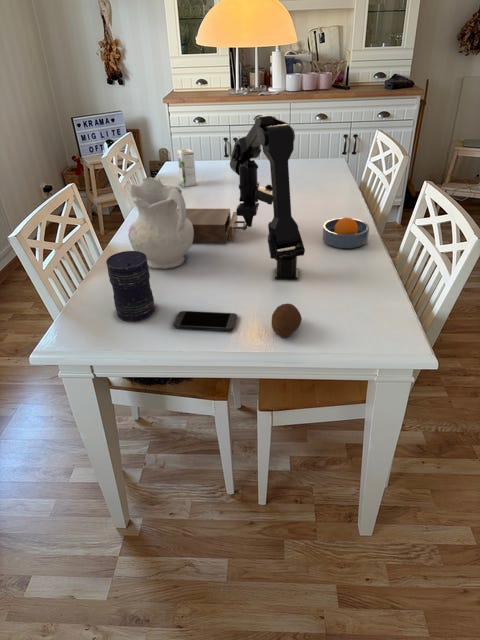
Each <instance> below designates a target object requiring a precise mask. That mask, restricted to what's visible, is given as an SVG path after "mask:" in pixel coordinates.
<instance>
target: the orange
mask: <svg viewBox="0 0 480 640" xmlns="http://www.w3.org/2000/svg"><path fill="white" fill-rule="evenodd" d="M341 218H342V219H340V220H339V221H338V222H337V223H336V225H335V228H334V231H335V233H337V234H343V235H352V234H357V233H358V225H357V223H356V222H355V220H353V219H354V218H351V217H341Z"/></svg>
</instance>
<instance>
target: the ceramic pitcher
mask: <svg viewBox="0 0 480 640" xmlns="http://www.w3.org/2000/svg"><path fill="white" fill-rule="evenodd" d="M182 193H183V191H182V190H181V188H180V187H175V186H174V185H173V186H172V185H164V183H162V181H161V179H160V178H159V179H157V178H155V177H152V176H149V177H147V176H146V177H145V178H142V181H141V183H140V184H139V185H136V184H134V183H133V184H129V194H130V197H131V200H132V203H134V204H135V206H136V208H137V211H138V217H137V218H136V220H135V221H134V222H132V224H131V225H130V226H129V228H128V233H127V236H128V240H129V243H130V245H131V248H132V250H133V251H139V252H142V253H144V254H145V255H146V257H147V263H148V267H149V268H151V269H157V270H158V269H163V270H164V269H165V270H166V269H174V268H176V267H178V266H180V265H182V264H184V262H185V259H186V257H185V256H184V255H186V253H187V252H189V250H190V249H191V247H192V245H193V244H194V243H193V235H194V230H193V225H192V223H191V221H190V220H189V219H188V218H186V209H187V208H186V202H185V198H184V195H183V194H182ZM177 209H179V212H178V210H177Z"/></svg>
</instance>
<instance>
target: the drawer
mask: <svg viewBox="0 0 480 640" xmlns="http://www.w3.org/2000/svg"><path fill="white" fill-rule="evenodd" d="M230 214H231V212H230V213H229V216H228V218H227V221H226V224H225V238H226V235H227V232H228V230H229V234H228V241H233V240H234V237H235V235H236V232H237V231H236V230H243V231H247V230H248V225H247V223H246V222H245V220H238V216H237V213H236V211H233V212H232V214H231V221H230ZM238 224H243V225H242V226H238Z"/></svg>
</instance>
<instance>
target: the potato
mask: <svg viewBox="0 0 480 640" xmlns="http://www.w3.org/2000/svg"><path fill="white" fill-rule="evenodd" d="M302 319H303V317H302V314H301V313H300V310H299V309H298V308H297V306H295V305H294V304H293V303H287V302H286V303H282V304H280V305H277V307H276V308H275V309H274V311H273V313H272V315H271V328H272V330H273V332H274V333H275V334H276V335H277V336H278V337H281V338H287V337H289V336H291V335H292V334H293V333H295V332H296V331H297V330H298V329H299V327H300V326H301V323H302Z"/></svg>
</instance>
